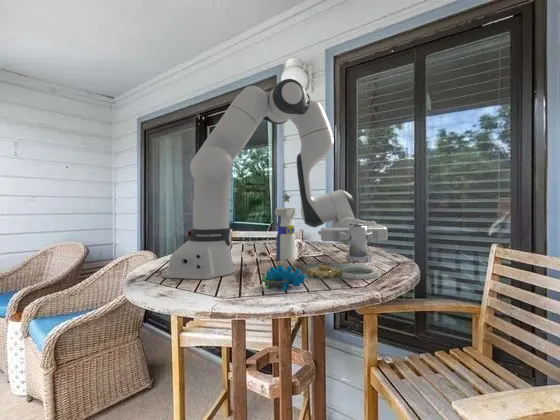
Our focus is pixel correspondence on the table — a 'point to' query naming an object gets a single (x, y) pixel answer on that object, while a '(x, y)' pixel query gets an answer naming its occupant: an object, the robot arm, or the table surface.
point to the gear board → (341, 273)
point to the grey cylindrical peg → (358, 245)
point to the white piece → (285, 233)
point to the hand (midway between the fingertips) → (358, 237)
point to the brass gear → (324, 271)
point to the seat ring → (358, 276)
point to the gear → (283, 277)
